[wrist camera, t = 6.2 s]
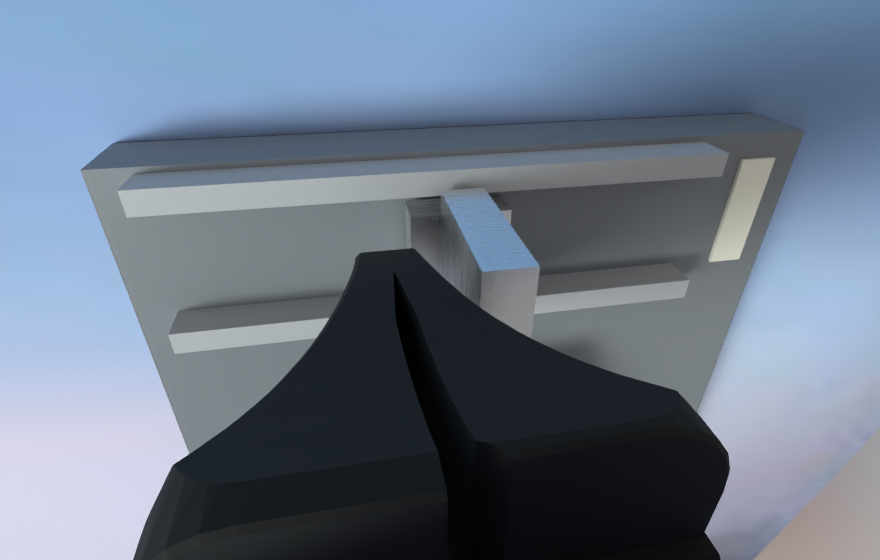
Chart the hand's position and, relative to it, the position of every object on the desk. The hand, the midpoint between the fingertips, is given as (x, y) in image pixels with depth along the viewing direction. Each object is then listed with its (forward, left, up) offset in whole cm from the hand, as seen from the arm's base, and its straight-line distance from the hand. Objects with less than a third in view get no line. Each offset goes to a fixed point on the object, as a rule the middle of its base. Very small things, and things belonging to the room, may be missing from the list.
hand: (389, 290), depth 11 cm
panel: (-7, -3, -4) cm, 9 cm away
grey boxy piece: (0, -2, -2) cm, 3 cm away
